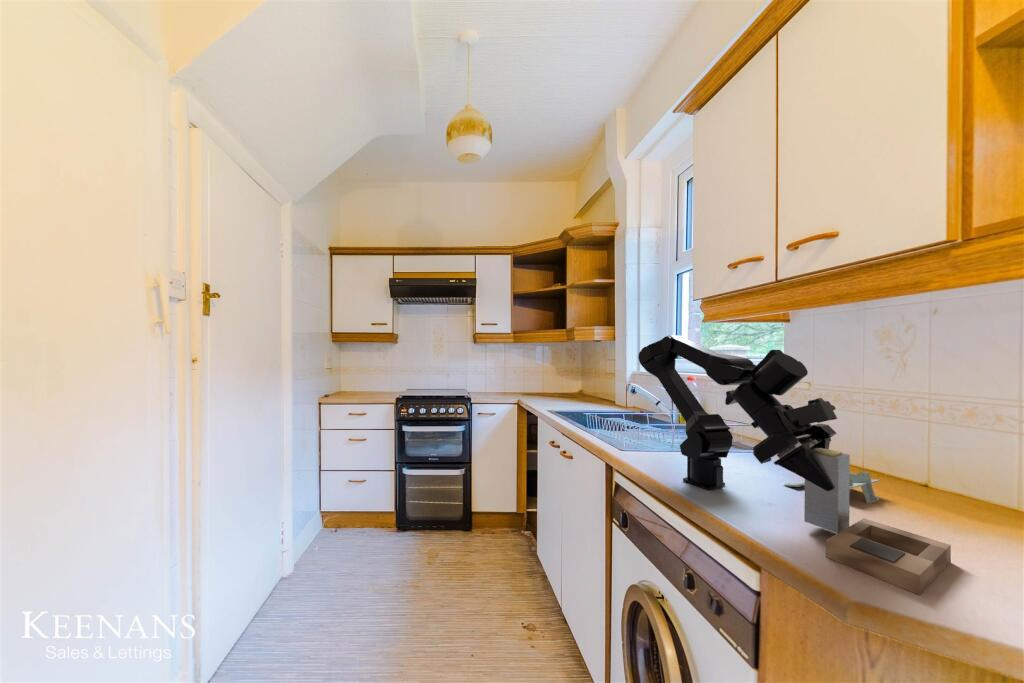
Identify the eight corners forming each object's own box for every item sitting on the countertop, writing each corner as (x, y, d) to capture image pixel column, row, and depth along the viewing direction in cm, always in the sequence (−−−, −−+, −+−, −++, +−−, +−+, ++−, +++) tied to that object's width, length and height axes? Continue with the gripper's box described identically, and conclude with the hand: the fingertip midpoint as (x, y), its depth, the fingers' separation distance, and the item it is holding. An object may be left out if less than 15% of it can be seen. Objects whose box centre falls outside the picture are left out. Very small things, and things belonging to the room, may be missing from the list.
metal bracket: (887, 469, 78) (849, 478, 72) (897, 498, 76) (860, 510, 70) (812, 468, 90) (775, 476, 84) (820, 494, 89) (783, 503, 83)
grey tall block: (804, 521, 62) (804, 449, 62) (816, 515, 65) (816, 446, 65) (837, 533, 58) (838, 456, 59) (849, 526, 61) (849, 452, 61)
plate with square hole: (825, 557, 54) (825, 538, 54) (863, 533, 61) (863, 517, 61) (919, 595, 46) (919, 573, 46) (950, 562, 53) (950, 543, 53)
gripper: (773, 385, 60) (861, 472, 51) (823, 381, 70) (905, 454, 60) (725, 423, 67) (794, 507, 58) (776, 415, 77) (843, 486, 67)
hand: (837, 487), depth 60 cm, fingers closed on grey tall block, 4 cm apart
